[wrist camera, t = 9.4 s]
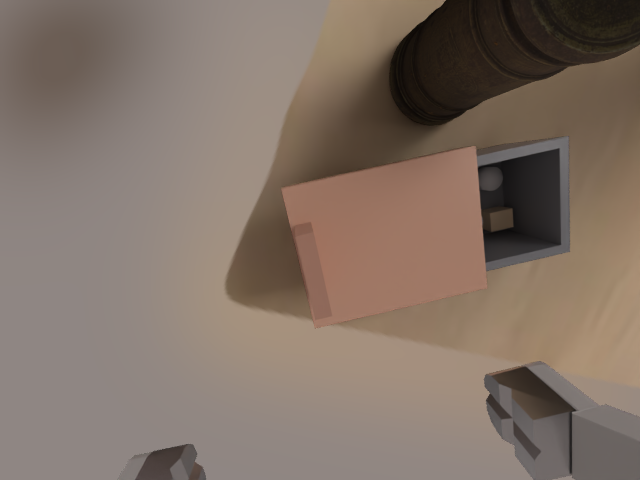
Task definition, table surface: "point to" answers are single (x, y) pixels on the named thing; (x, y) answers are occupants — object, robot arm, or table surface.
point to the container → (502, 49)
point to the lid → (389, 235)
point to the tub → (524, 200)
